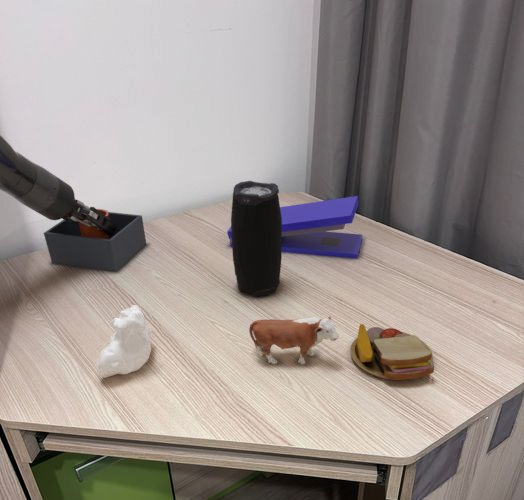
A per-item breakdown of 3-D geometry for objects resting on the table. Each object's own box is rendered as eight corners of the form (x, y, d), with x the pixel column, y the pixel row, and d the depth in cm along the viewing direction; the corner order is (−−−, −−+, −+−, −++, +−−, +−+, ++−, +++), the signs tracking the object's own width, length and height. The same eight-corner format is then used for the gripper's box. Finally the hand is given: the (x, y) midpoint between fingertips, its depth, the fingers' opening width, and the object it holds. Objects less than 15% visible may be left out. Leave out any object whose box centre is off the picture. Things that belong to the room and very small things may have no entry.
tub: (52, 264, 112) (43, 232, 108) (86, 238, 122) (79, 208, 118) (117, 273, 109) (110, 241, 104) (146, 246, 119) (142, 215, 115)
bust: (112, 399, 81) (143, 362, 73) (72, 366, 80) (99, 325, 72) (154, 354, 90) (185, 317, 82) (118, 324, 89) (146, 284, 81)
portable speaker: (287, 281, 105) (289, 181, 93) (269, 304, 98) (268, 200, 86) (247, 273, 107) (244, 175, 96) (227, 295, 101) (220, 193, 89)
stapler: (356, 261, 111) (361, 215, 105) (226, 249, 117) (224, 205, 111) (362, 238, 120) (366, 195, 114) (241, 228, 126) (239, 186, 120)
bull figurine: (335, 372, 82) (339, 327, 77) (248, 364, 83) (246, 320, 79) (337, 354, 85) (340, 311, 80) (253, 348, 87) (252, 305, 82)
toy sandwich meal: (422, 335, 89) (426, 311, 86) (441, 388, 78) (447, 362, 75) (346, 335, 89) (348, 311, 86) (355, 388, 78) (357, 362, 76)
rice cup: (79, 257, 113) (70, 219, 108) (95, 245, 118) (87, 207, 113) (106, 260, 112) (98, 222, 107) (121, 248, 117) (114, 210, 112)
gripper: (76, 178, 95) (133, 218, 110) (23, 166, 102) (84, 206, 117) (60, 217, 95) (120, 252, 110) (8, 203, 101) (71, 238, 116)
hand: (101, 228), depth 113 cm, fingers closed on rice cup, 6 cm apart
